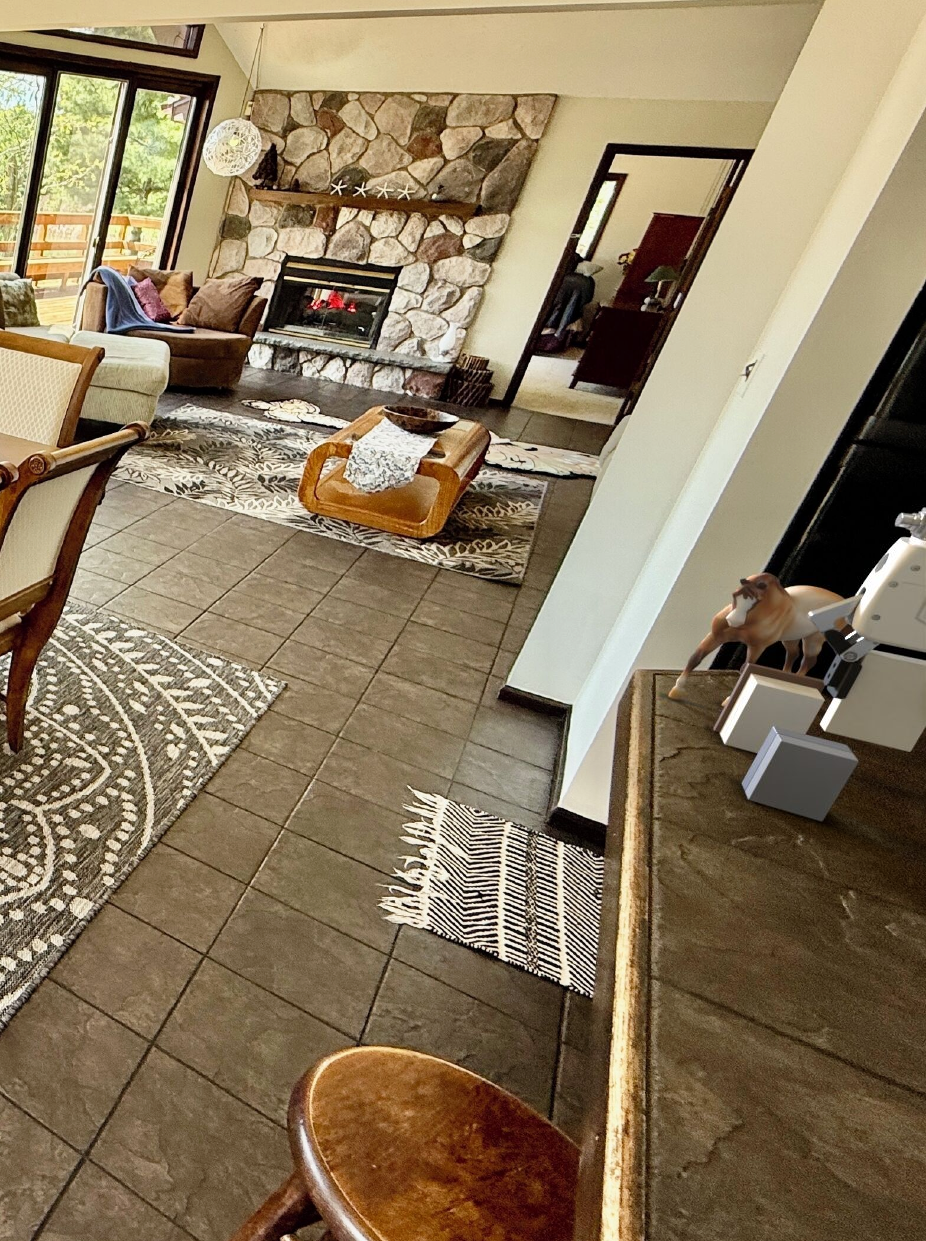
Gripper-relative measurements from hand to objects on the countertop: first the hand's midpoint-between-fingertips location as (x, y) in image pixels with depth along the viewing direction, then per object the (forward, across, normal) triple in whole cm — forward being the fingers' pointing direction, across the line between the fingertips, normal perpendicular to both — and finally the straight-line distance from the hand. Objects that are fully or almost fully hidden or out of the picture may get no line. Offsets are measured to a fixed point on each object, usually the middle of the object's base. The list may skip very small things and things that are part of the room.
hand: (883, 703), depth 89 cm
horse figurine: (+17, +4, +42) cm, 45 cm away
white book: (+4, 0, 0) cm, 4 cm away
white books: (+17, 0, +25) cm, 30 cm away
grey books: (+17, -1, +9) cm, 19 cm away
